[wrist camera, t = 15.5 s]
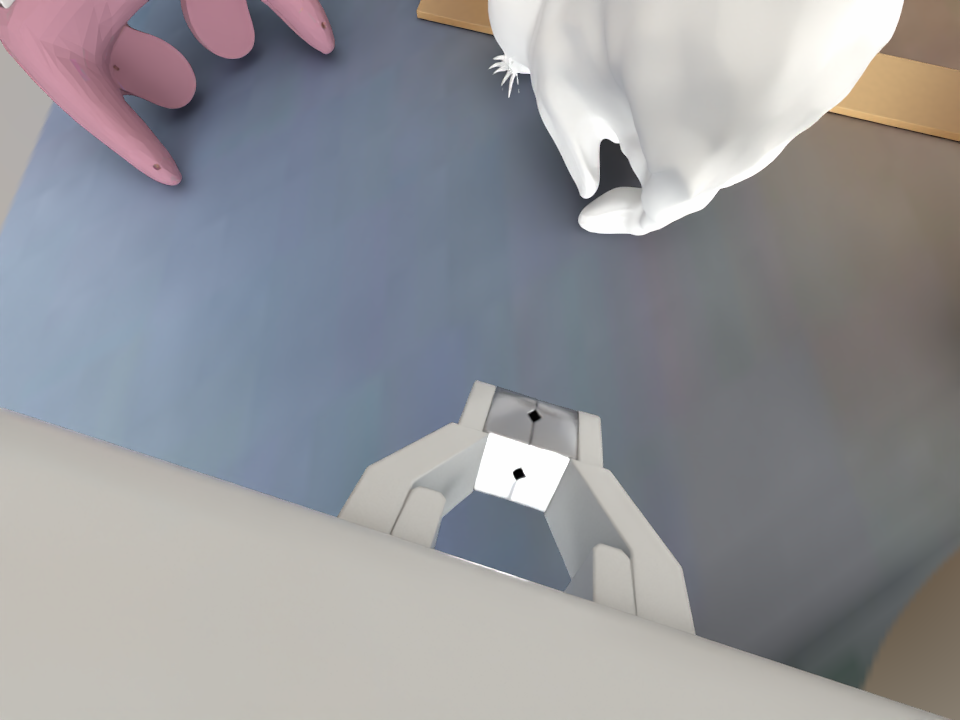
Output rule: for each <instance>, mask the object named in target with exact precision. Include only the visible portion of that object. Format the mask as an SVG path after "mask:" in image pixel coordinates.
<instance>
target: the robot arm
mask: <svg viewBox="0 0 960 720" xmlns="http://www.w3.org/2000/svg"><path fill="white" fill-rule="evenodd" d="M495 390H496V391H495ZM494 393H495V394H494ZM473 490H475V491H479V492H482V493H486V494H489V495H493V496H496V497H500V498H503V499H507V500H510V501H513V502H516V503H519V504H522V505H525V506H527V507H530V508H533V509H536V510H539V511H542V512H545V513H544V515H545V517H546V520H547V522H548V525H549V527H550V529H551V532H552V534H553V537H554V539H555V541H556V544H557V546H558V548H559V551H560V553H561V556H562V558H563V560H564V563H565V565H566V568H567V570H568V572H569V575H570V577H571V579H572V580H571V582H570V583H569V585H568V586H567V588H566V589H565V591H564V592H562V591H559V590H556V589H553V588H550V587H547V586H544V585H541V584H538V583H535V582H532V581H529V580H526V579H523V578H520V577H517V576H513V575H510V574H507V573H504V572H501V571H498V570H495V569H492V568H489V567H486V566H483V565H480V564H477V563H474V562H471V561H468V560H465V559H462V558H459V557H456V556H453V555H450V554H447V553H444V552H441V551H438V550H435V545H436V540H437V536H438V532H439V528H440V524H441V520H442V517H443V516H444V515H446V514H447V513H448V512H449V511H450V510H452V509H453V508H454V507H455V506H456V505H457V504H459V503H460V502H461V501H462V500H463V499H465V498H466V497H467V496H468V495H469V494H470V493H472V491H473ZM0 720H951V719H948V718H945V717H942V716H939V715H936V714H933V713H930V712H927V711H924V710H921V709H918V708H915V707H912V706H909V705H906V704H903V703H900V702H897V701H894V700H891V699H888V698H884V697H882V696H878V695H875V694H872V693H869V692H866V691H863V690H860V689H857V688H854V687H851V686H848V685H845V684H842V683H839V682H836V681H833V680H830V679H827V678H824V677H821V676H818V675H815V674H812V673H809V672H806V671H803V670H800V669H796V668H793V667H790V666H787V665H784V664H781V663H778V662H775V661H772V660H769V659H766V658H763V657H760V656H757V655H754V654H751V653H748V652H745V651H742V650H739V649H736V648H733V647H730V646H727V645H724V644H721V643H718V642H714V641H711V640H708V639H705V638H702V637H699V636H696V634H695V629H694V624H693V619H692V614H691V609H690V604H689V600H688V595H687V590H686V585H685V580H684V575H683V570H682V567H681V566H680V564H679V563H678V562H677V560H676V559H675V558H674V556H673V555H672V554H671V552H670V551H669V549H668V548H667V547H666V545H665V544H664V543H663V541H662V540H661V539H660V537H659V536H658V535H657V533H656V532H655V531H654V529H653V528H652V527H651V525H650V524H649V523H648V521H647V520H646V518H645V517H644V516H643V514H642V513H641V512H640V510H639V509H638V508H637V506H636V505H635V504H634V502H633V501H632V500H631V498H630V497H629V496H628V494H627V493H626V492H625V490H624V489H623V487H622V486H621V485H620V483H619V482H618V481H617V479H616V478H615V477H614V475H613V474H612V473H611V471H610V470H607V469H604V468H603V454H602V435H601V419H600V417H599V416H597V415H593V414H589V413H585V412H582V411H575V410H572V409H569V408H565V407H562V406H558V405H555V404H551V403H548V402H544V401H541V400H538V399H535V398H532V397H529V396H526V395H523V394H520V393H516V392H513V391H510V390H507V389H504V388H501V387H498V386H497V388H496V386H494V385H491V384H487V383H484V382H481V381H478V380H476V381H475V383H474V384H473V387H472V389H471V392H470V395H469V397H468V400H467V402H466V405H465V407H464V410H463V412H462V415H461V417H460V420H459V422H458V424H456V423H453V422H451V423H449V424H448V425H446V426H444V427H442V428H440V429H438V430H436V431H434V432H432V433H431V434H429V435H427V436H425V437H423V438H421V439H419V440H417V441H415V442H413V443H412V444H410V445H408V446H406V447H404V448H402V449H400V450H398V451H396V452H395V453H393V454H391V455H389V456H387V457H385V458H383V459H381V460H379V461H377V462H376V463H374V464H372V465H370V466H368V467H367V468H366V470H365V472H364V473H363V475H362V477H361V478H360V480H359V481H358V483H357V485H356V486H355V488H354V490H353V491H352V493H351V495H350V496H349V498H348V500H347V501H346V503H345V505H344V506H343V508H342V510H341V511H340V513H339V515H338V516H337V517H334V516H331V515H328V514H325V513H322V512H319V511H316V510H313V509H310V508H307V507H304V506H301V505H298V504H295V503H292V502H289V501H286V500H283V499H280V498H277V497H274V496H271V495H267V494H264V493H261V492H258V491H255V490H252V489H249V488H246V487H243V486H240V485H237V484H234V483H231V482H228V481H225V480H222V479H219V478H216V477H213V476H210V475H207V474H204V473H201V472H198V471H195V470H191V469H188V468H185V467H182V466H179V465H176V464H173V463H170V462H167V461H164V460H161V459H158V458H155V457H152V456H149V455H146V454H143V453H140V452H137V451H134V450H131V449H128V448H125V447H122V446H118V445H115V444H112V443H109V442H106V441H103V440H100V439H97V438H94V437H91V436H88V435H85V434H82V433H79V432H76V431H73V430H70V429H67V428H64V427H61V426H58V425H55V424H52V423H48V422H45V421H42V420H39V419H36V418H33V417H30V416H27V415H24V414H21V413H18V412H15V411H12V410H9V409H6V408H3V407H0Z"/></svg>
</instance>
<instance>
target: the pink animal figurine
mask: <svg viewBox="0 0 960 720" xmlns="http://www.w3.org/2000/svg"><path fill="white" fill-rule="evenodd" d="M148 1H149V0H0V40H1V42H2V44H3V46H4V47H5V49H6V50H7V51H8V53H9V54H10V55H11V56H12V57H13V58H14V59H15V61H16V62H17V63H18V64H19V65H20V66H21V67H22V68H23V69H24V71H25V72H26V73H27V74H28V75H29V76H30V77H31V79H32V80H33V81H34V82H35V83H36V84H37V85H38V86H39V87H40V88H41V89H42V90H43V91H44V92H45V93H46V94H47V95H48V96H49V97H50V98H51V99H52V100H53V101H54V102H55V103H56V104H57V105H58V106H60V107H61V108H62V109H63V110H64V111H65V112H66V113H67V114H68V115H69V116H71V117H72V118H73V119H74V120H75V121H76V122H77V123H79V124H80V125H81V126H82V127H84V128H85V129H86V130H87V131H89V132H90V133H91V134H92V135H94V136H95V137H96V138H97V139H99V140H100V141H101V142H103V143H104V144H105V145H107V146H108V147H109V148H111V149H112V150H113V151H114V152H116V153H117V154H118V155H120V156H121V157H122V158H124V159H125V160H126V161H128V162H129V163H130V164H132V165H133V166H134V167H135V168H137V169H138V170H140V171H141V172H143V173H144V174H146V175H147V176H149V177H151V178H152V179H154V180H156V181H158V182H160V183H163V184H166V185H177V184H178V183H180V181H181V180H182V175H181V173H180V171H179V170H178V168H177V165H176V163H175V161H174V160H173V158H172V157H171V155H170V154H169V152H168V151H167V149H166V148H165V147H164V146H163V144H162V143H161V142H160V141H159V140H158V138H157V137H156V136H155V135H154V133H153V132H152V131H151V130H150V128H149V127H148V126H147V125H146V124H145V122H144V121H143V120H142V119H141V118H140V117H139V116H138V115H137V113H136V112H135V111H134V110H133V109H132V108H131V107H130V106H129V105H128V104H127V103H126V101H125V100H124V98H123V95H134V96H137V97H140V98H143V99H145V100H147V101H149V102H152V103H154V104H156V105H159V106H162V107H165V108H171V109H176V108H181V107H183V106H185V105H186V104H188V103H189V102H190V101H191V99H192V98H193V96H194V93H195V89H196V78H195V74H194V72H193V70H192V68H191V65H190V64H189V62H188V61H187V60H186V59H185V57H184V56H183V55H182V54H181V53H180V52H179V51H178V50H177V49H176V48H174V47H173V46H171V45H170V44H168V43H167V42H165V41H163V40H162V39H160V38H157V37H155V36H153V35H150V34H147V33H144V32H141V31H138V30H135V29H133V28H131V27H130V26H129V25H128V24H127V21H128V20H129V19H130V18H131V17H132V16H133V15H134V14H135V13H136V12H137V11H138V10H139V9H140V8H141V7H142V6H143V5H144V4H146V3H147V2H148ZM261 1H262V2H264V3H265V4H267V5H268V6H269V7H270V8H271V9H272V10H273V11H274V12H275V13H276V14H277V15H278V16H279V17H280V18H281V19H282V20H283V21H284V22H285V23H286V24H287V25H288V26H289V27H290V28H291V29H292V30H293V31H294V32H295V33H296V34H297V35H299V36H300V37H301V38H302V39H303V40H305V41H306V42H307V43H308V44H309V45H311V46H312V47H314V48H315V49H317V50H319V51H321V52H322V53H323V54H329V53H330V52H332V50H333V49H334V47H335V40H334V36H333V32H332V28H331V26H330V23H329V21H328V18H327V16H326V14H325V11H324V9H323V8H322V6H321V4H320V3H319V1H318V0H261ZM181 7H182V11H183V15H184V18H185V20H186V23H187V25H188V27H189V28H190V30H191V32H192V33H193V35H194V36H195V38H196V39H197V40H198V41H199V42H200V43H201V44H202V45H203V46H204V47H205V48H206V49H208V50H209V51H211V52H212V53H214V54H215V55H218V56H221V57H223V58H228V59H236V58H241V57H243V56H245V55H247V54H248V53H249V52H250V51H251V49H252V48H253V45H254V39H255V33H254V28H253V23H252V20H251V17H250V13H249V10H248V7H247V2H246V0H181Z"/></svg>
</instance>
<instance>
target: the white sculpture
mask: <svg viewBox="0 0 960 720" xmlns="http://www.w3.org/2000/svg"><path fill="white" fill-rule="evenodd" d="M903 2H904V0H488V14H489V20H490V25H491V28H492V32H493V34H494V37H495V39H496V41H497V42H498V44H499V45H500V47H501V48H502V50H503V51H504V55H500V56H497V57H495V58H493V59H495V60H502V62H498V63H495V64H493V65H492V66H491V67H490V68H493V67H497V66H500V68H499V69H497V70H496V71H495V72H494V73H497V72H500V71H505V70H507V74H506V76H505V77H504V79H503V81H502V84H503V83H505V81H506V80H507V79H508V77H509V76H510V75H511V74H512V75H511V78H510V82H509V92H508V93H509V95H508V97H510V93H511V89H512V84H513V80H514V78H515V75H517V73H522V74H530V76H531V83H532V87H533V91H534V93H535V96H536V101H537V106H538V110H539V113H540V116H541V118H542V120H543V123H544V125H545V126H546V128H547V130H548V132H549V133H550V135H551V137H552V138H553V140H554V142H555V144H556V146H557V147H558V149H559V151H560V153H561V156H562V158H563V160H564V162H565V164H566V166H567V168H568V170H569V172H570V174H571V176H572V178H573V180H574V181H575V183H576V185H577V187H578V190H579V193H580V196H581V197H583V198H590V197H591V196H593V195H594V194H595V192H596V191H597V189H598V186H599V181H600V160H599V151H600V143H601V141H602V140H603V139H609V140H611V141H612V142H614V143H620V147H621V151H622V152H623V154H624V155H625V156H626V157H627V158H628V159H629V162H630V165H631V167H632V169H633V171H634V172H635V174H636V176H637V177H638V179H639V181H640V183H641V186H642V188H635V187H618V188H614V189H612V190H610V191H608V192H606V193H604V194H603V195H601V196H600V197H598V198H597V199H595V200H594V201H592V202H591V203H590V204H588V205H587V206H586V207H585V208H584V209H583V210H582V211H581V213H580V215H579V218H578V222H579V225H580V226H581V227H582V228H584V229H586V230H587V231H589V232H596V233H605V234H613V233H629V234H632V235H644V234H647V233H649V232H651V231H655V230H658V229H660V228H662V227H664V226H666V225H668V224H670V223H671V222H673V221H675V220H677V219H680V218H682V217H683V216H685V215H687V214H690V213H693V212H696V211H699V210H701V209H703V208H704V207H705V206H706V205H707V204H708V203H709V202H710V201H711V200H712V199H713V197H714V196H715V195H716V193H717V192H718V190H719V189H720V188H725V187H729V186H731V185H734V184H736V183H738V182H740V181H742V180H744V179H746V178H749V177H751V176H753V175H754V174H756V173H758V172H759V171H761V170H762V169H763V168H765V167H766V166H767V165H768V164H770V163H771V162H772V161H773V160H774V159H775V158H776V157H777V156H778V155H779V154H780V153H781V151H782V150H783V149H784V148H785V146H786V145H787V144H788V143H789V142H790V141H791V140H792V139H793V138H794V137H796V136H797V135H798V134H800V133H801V132H803V131H805V130H806V129H808V128H809V127H810V126H812V125H813V124H814V123H815V122H817V121H818V120H819V119H820V118H821V117H822V116H823V115H824V114H825V113H826V112H828V111H829V110H831V109H832V108H833V107H835V106H836V105H837V104H839V103H840V102H841V101H842V100H843V99H844V98H845V97H846V96H847V95H848V94H849V93H850V91H851V90H852V88H853V87H854V86H855V84H856V83H857V81H858V80H859V79H860V77H861V76H862V74H863V73H864V71H865V69H866V68H867V66H868V65H869V63H870V62H871V61H872V59H873V58H874V57H875V56H876V54H877V53H878V52H879V51H880V50H881V49H882V48H883V47H884V46H885V45H886V44H887V43H888V41H889V40H890V39H891V37H892V35H893V33H894V31H895V29H896V26H897V23H898V20H899V17H900V14H901V10H902V6H903ZM490 68H489V69H490ZM494 73H493V74H494ZM502 84H501V86H502ZM517 84H518V76H517ZM501 86H500V87H501ZM502 90H503V89H502ZM518 91H519V89H518Z"/></svg>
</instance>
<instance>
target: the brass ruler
mask: <svg viewBox="0 0 960 720" xmlns="http://www.w3.org/2000/svg"><path fill="white" fill-rule="evenodd" d="M417 17H418V18H422V19H426V20H430V21H435V22H439V23H444V24H448V25H452V26H457V27H461V28H465V29H470V30H474V31H479V32H483V33H487V34H492V35H494V34H493V32H492V28H491V25H490V20H489V14H488V0H421V1H420V4H419V6H418V8H417ZM829 112H833V113H838V114H842V115H846V116H851V117H855V118H860V119H864V120H868V121H873V122H877V123H881V124H886V125H890V126H895V127H899V128H903V129H908V130H912V131H917V132H921V133H925V134H930V135H934V136H938V137H943V138H947V139H952V140H956V141H960V70H955V69H951V68H946V67H941V66H937V65H932V64H927V63H923V62H918V61H914V60H909V59H904V58H900V57H895V56H890V55H886V54H881V53H877V54H876V56H875V57H874V58H873V59H872V61H871V62H870V63H869V65H868V66H867V68H866V69H865V71H864V73H863V74H862V76H861V77H860V79H859V80H858V81H857V83H856V84H855V86H854V87H853V88H852V90H851V91H850V93H849V94H848V95H847V96H846V97H845V98H844V99H843V100H842V101H841V102H840V103H839V104H837V105H836V106H835V107H833V108H832V109H831V110H829Z"/></svg>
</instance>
